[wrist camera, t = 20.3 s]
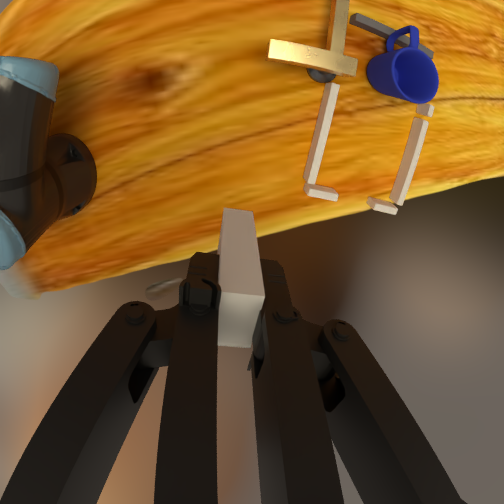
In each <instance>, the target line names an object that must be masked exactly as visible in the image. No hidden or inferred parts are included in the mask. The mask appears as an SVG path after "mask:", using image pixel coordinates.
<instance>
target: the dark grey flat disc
mask: <svg viewBox="0 0 504 504" xmlns="http://www.w3.org/2000/svg"><path fill="white" fill-rule="evenodd" d="M307 72H308V74H309V76H310V77H311V78H312V79H313V80H315V81H317V82H320V83H325V82H330V81H331V80H333V79H334V78H335V76H336V74H328V75H321V74H320V73H319V72H318V71H317V70H316V69H311V68H307Z"/></svg>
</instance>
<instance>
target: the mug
mask: <svg viewBox="0 0 504 504" xmlns="http://www.w3.org/2000/svg"><path fill="white" fill-rule="evenodd" d="M407 33H410V44H409V46H408V47H405V48H401V49H397V50H394V51H393V47H394V43H395V41H396V40H397V39H398V38H399V37H400V36H402V35H405V34H407ZM418 46H419V31H418V28H416V27H415V26H412V25H410V26H406V27H404V28H401V29H399V30H397V31H395V32H393V33H392V34H391V35H390V36H389V37H388V39H387V43H386V48H387V51H388V52H387V53H384V54H381V55H378V56H375V57H374V58H373V59H372V60H371V61H370V62H369V64H368V67H367V76H368V79H369V82H370V83H371V85H372V86H373V87H374V88H375V89H376V90H377V91H379V92H380V93H383V94H385V95H389V96H393V97H396V98H400V99H403V100H406V101H410V102H413V103H417V104H423V103H426V102H428V101H430V100H431V99H432V98H433V97H434V96H435V94H436V92H437V89H438V84H439V79H438V73H437V70H436V67H435V65H434V63H433V62H432V60H431V59H430V58H429V56H428V55H427V54H426V53H424V52H423V51H421V50H419V49H418Z"/></svg>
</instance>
